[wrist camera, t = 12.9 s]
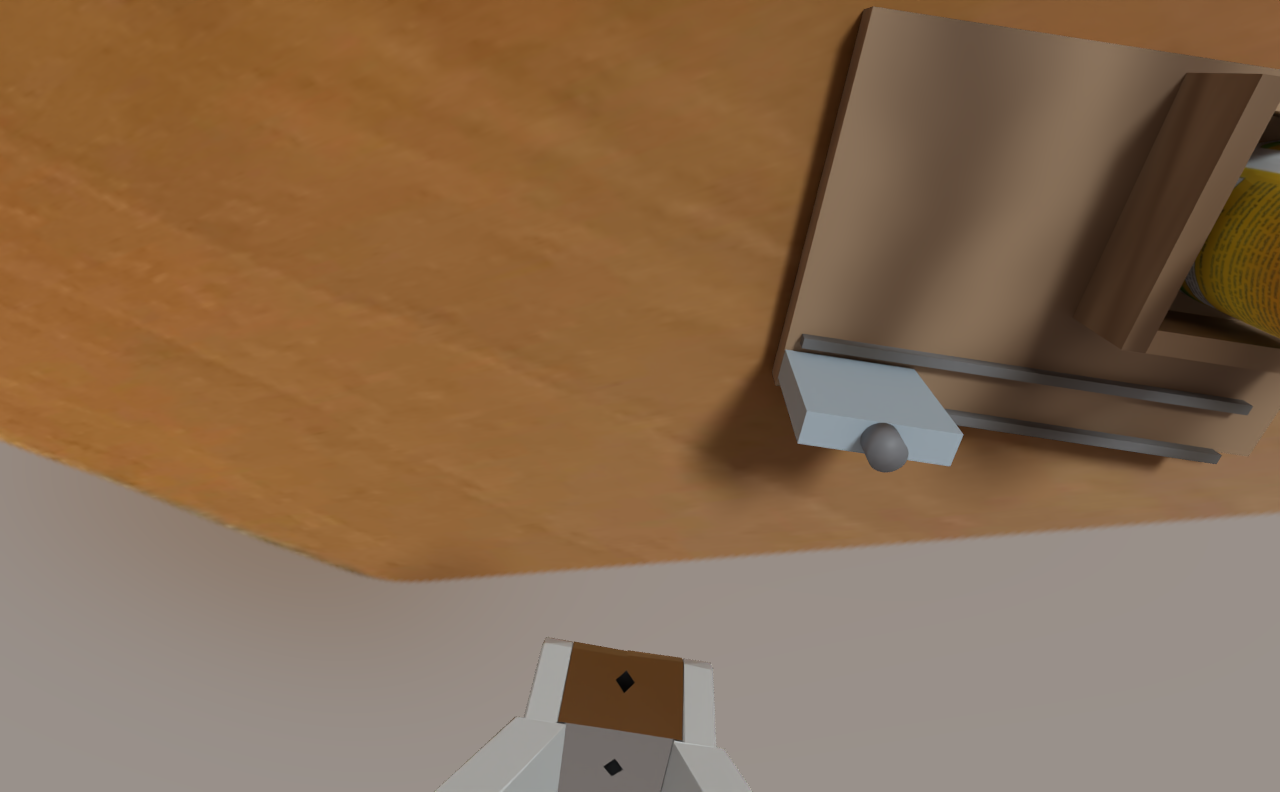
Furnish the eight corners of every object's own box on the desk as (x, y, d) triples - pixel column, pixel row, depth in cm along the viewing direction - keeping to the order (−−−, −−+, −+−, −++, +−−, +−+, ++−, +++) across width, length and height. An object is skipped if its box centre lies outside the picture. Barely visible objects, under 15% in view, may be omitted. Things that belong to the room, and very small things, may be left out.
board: (770, 379, 27) (783, 429, 23) (863, 9, 21) (902, -3, 17) (1222, 447, 27) (1307, 508, 23) (1444, 99, 21) (1607, 106, 17)
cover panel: (777, 377, 26) (802, 460, 20) (785, 349, 25) (812, 426, 20) (904, 396, 26) (961, 483, 20) (914, 368, 25) (975, 451, 20)
